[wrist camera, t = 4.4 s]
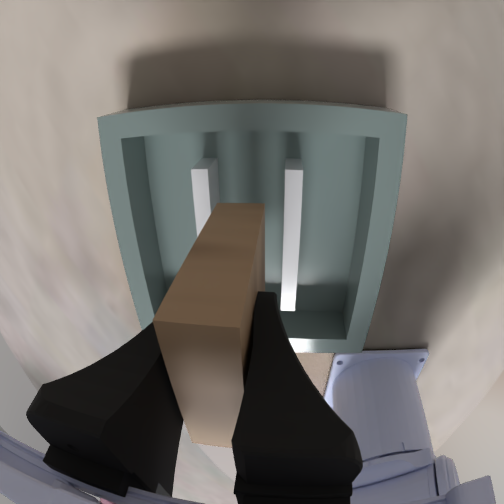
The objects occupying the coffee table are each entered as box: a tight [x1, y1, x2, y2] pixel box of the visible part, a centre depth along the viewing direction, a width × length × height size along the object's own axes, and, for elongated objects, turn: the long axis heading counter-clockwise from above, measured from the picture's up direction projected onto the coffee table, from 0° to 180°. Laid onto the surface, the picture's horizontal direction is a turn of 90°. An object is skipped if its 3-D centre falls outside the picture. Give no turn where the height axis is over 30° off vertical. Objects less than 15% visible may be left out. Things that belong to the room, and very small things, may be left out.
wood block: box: [153, 203, 265, 448], centre depth 12 cm, size 6×2×8 cm, turn 1°
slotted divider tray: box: [97, 100, 407, 353], centre depth 17 cm, size 14×14×3 cm
